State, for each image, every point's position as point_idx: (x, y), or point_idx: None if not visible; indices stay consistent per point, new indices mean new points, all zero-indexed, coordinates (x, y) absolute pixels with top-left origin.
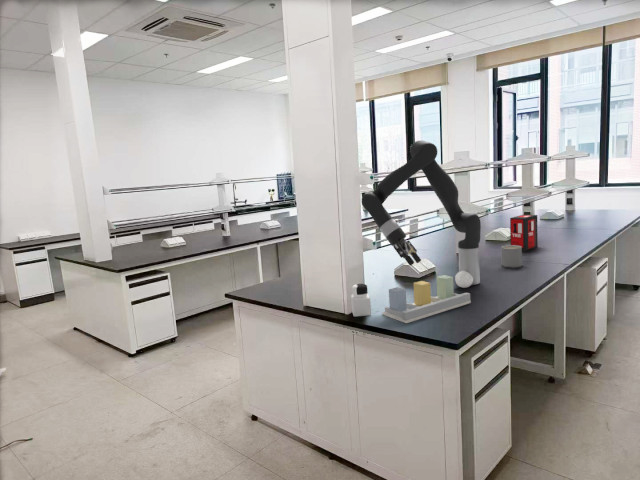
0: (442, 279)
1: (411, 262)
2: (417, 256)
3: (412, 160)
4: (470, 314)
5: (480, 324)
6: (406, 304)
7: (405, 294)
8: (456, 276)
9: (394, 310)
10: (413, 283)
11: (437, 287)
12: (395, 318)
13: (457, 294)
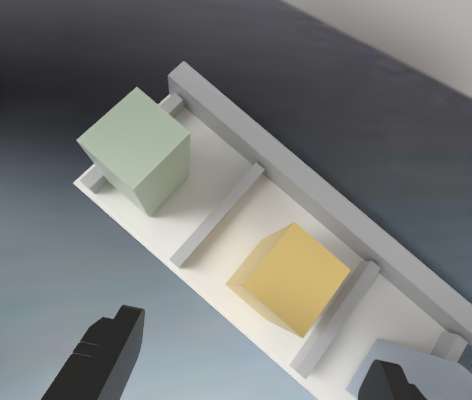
0: (172, 153)
1: (414, 393)
2: (119, 362)
3: None
4: (323, 95)
5: (411, 74)
6: (398, 345)
7: (440, 359)
8: None
9: None
10: (301, 337)
11: (146, 202)
12: None
13: None
